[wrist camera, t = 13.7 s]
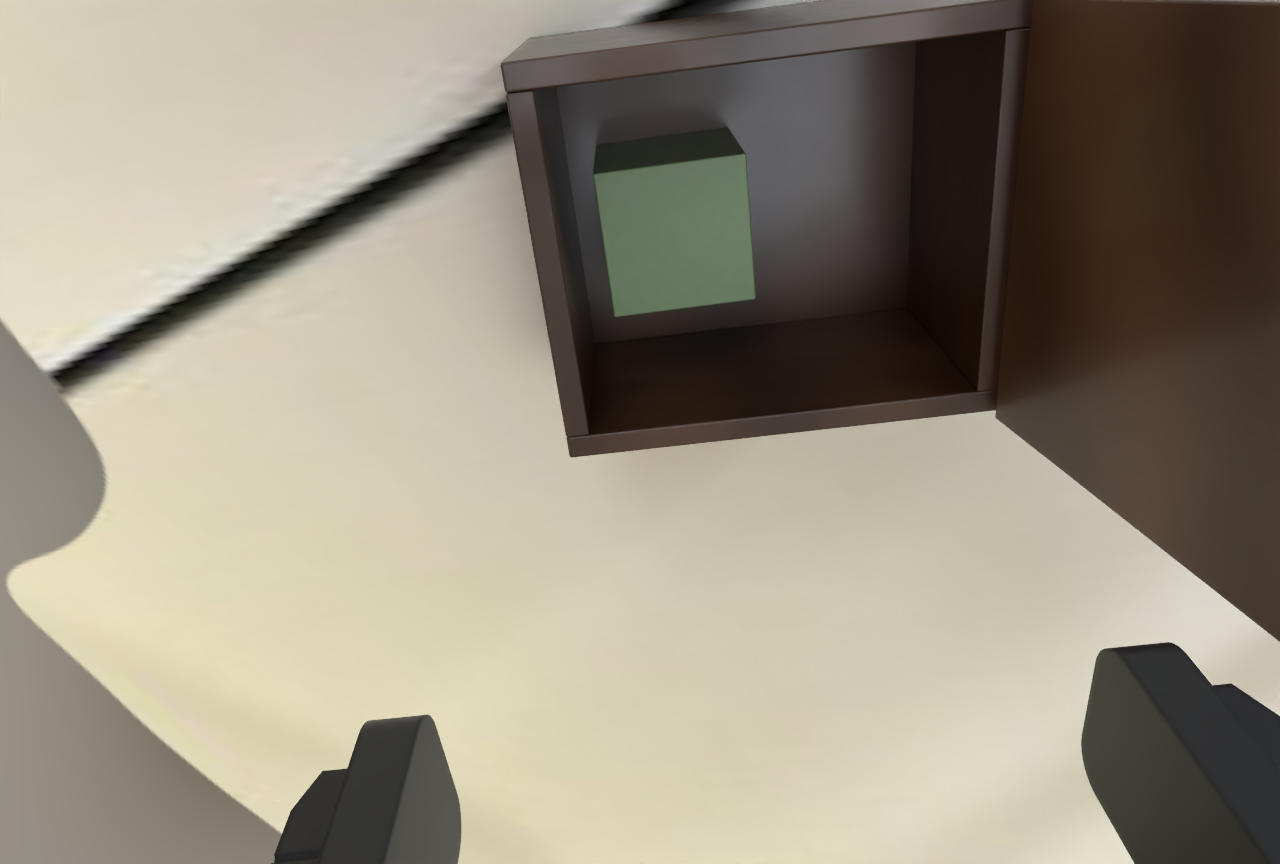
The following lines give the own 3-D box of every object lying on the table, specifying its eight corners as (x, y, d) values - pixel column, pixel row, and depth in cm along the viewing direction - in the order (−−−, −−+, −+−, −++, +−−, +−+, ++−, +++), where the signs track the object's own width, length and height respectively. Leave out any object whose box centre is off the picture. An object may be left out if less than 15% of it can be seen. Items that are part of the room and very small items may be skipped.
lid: (1471, 794, 15) (1505, 785, 16) (1865, 15, 9) (1917, 7, 10) (994, 418, 29) (1014, 413, 29) (1032, -4, 23) (1057, -8, 23)
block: (595, 145, 33) (592, 173, 28) (728, 127, 32) (746, 153, 28) (614, 273, 35) (614, 317, 31) (738, 257, 35) (756, 299, 30)
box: (579, 355, 38) (569, 458, 30) (528, 37, 32) (499, 63, 24) (919, 316, 37) (999, 410, 29) (933, -14, 31) (1038, -6, 23)
